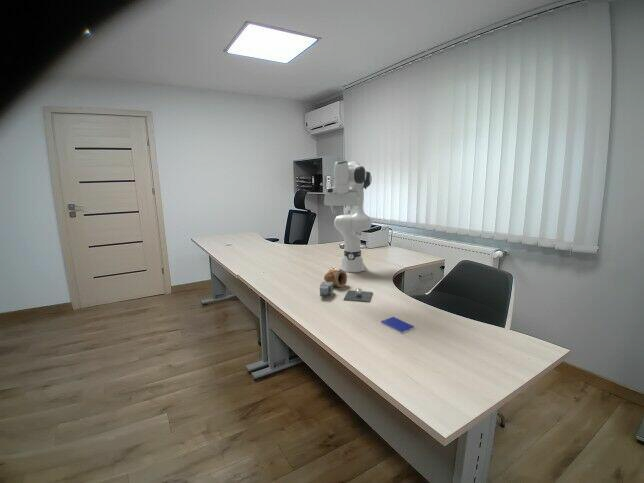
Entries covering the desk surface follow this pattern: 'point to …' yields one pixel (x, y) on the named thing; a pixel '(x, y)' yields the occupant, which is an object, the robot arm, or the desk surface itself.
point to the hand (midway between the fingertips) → (341, 213)
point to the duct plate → (354, 298)
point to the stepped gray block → (326, 289)
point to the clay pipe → (336, 277)
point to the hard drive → (397, 324)
